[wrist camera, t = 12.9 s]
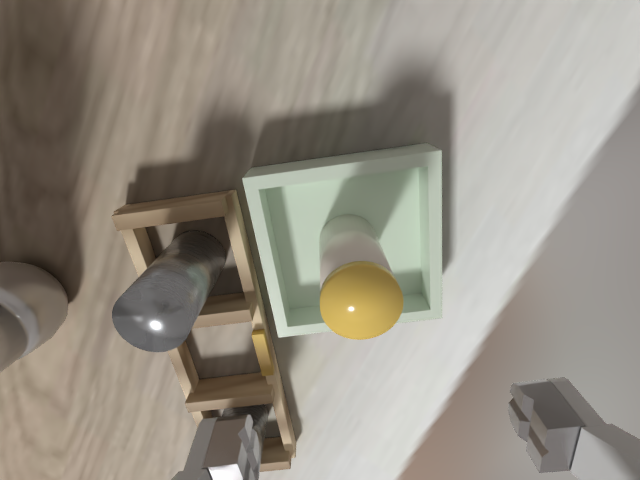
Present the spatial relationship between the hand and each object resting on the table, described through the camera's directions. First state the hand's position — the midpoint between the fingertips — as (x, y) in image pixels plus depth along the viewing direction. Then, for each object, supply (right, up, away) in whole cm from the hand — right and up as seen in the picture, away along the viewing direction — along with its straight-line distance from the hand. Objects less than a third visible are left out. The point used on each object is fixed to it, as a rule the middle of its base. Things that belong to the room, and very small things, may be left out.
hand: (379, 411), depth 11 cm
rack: (-10, -3, +18) cm, 21 cm away
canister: (-11, +4, +15) cm, 19 cm away
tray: (0, +6, +14) cm, 15 cm away
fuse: (0, +5, +14) cm, 15 cm away
